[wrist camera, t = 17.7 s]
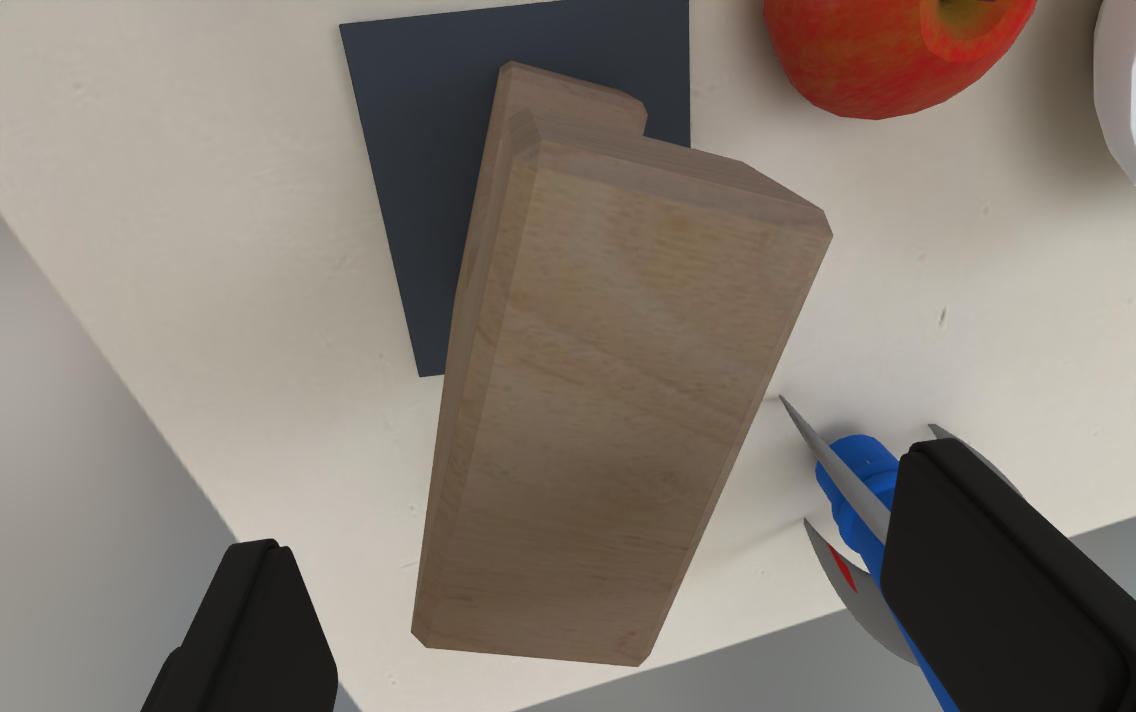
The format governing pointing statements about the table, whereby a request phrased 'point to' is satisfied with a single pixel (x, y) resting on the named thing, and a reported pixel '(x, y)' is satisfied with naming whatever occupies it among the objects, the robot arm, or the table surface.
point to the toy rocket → (866, 532)
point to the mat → (488, 117)
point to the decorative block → (598, 372)
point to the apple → (890, 49)
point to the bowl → (1117, 80)
